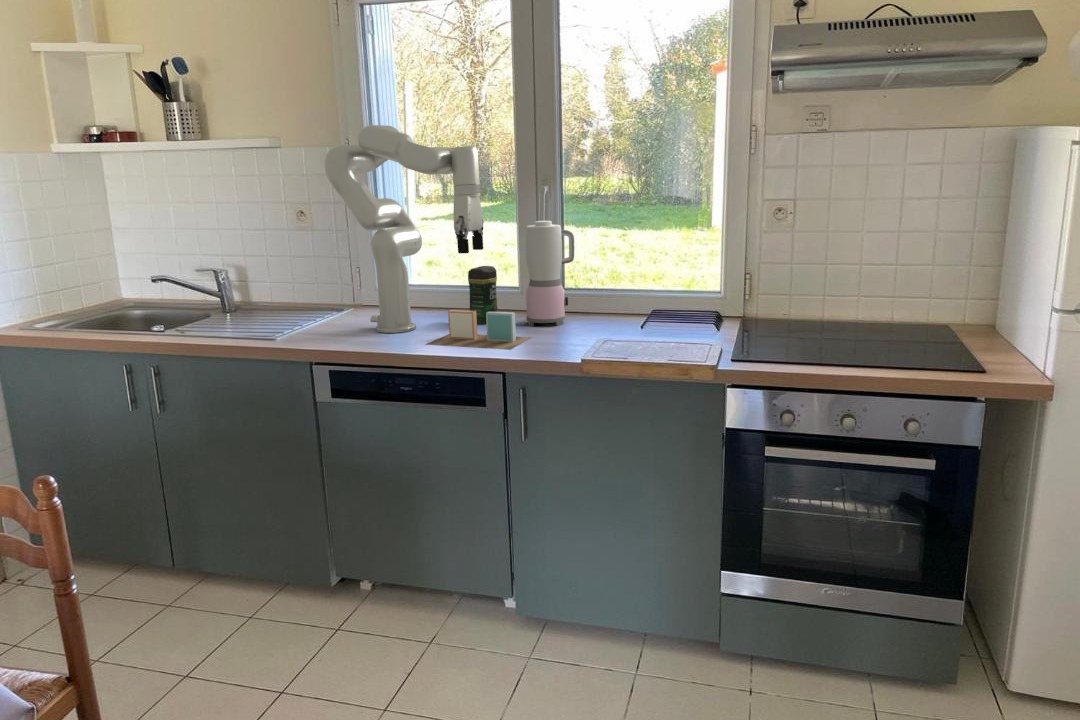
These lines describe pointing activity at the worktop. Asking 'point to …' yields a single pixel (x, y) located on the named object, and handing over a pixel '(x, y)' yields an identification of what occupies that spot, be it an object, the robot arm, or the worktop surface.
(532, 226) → the blender
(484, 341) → the walnut board
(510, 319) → the grey-blue tile
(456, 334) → the terracotta tile
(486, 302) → the coffee jar
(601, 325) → the worktop surface
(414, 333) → the worktop surface
